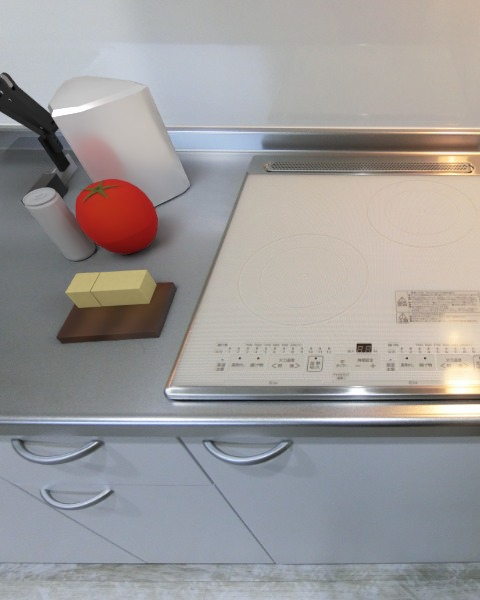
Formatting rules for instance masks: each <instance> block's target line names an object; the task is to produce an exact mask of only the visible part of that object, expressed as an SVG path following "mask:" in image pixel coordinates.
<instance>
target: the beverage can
mask: <svg viewBox="0 0 480 600" xmlns="http://www.w3.org/2000/svg"><path fill="white" fill-rule="evenodd" d="M26 194H27V193H26ZM26 194H24V196H23V197H24V198H23V197H22V198H23V200H22V201H23V203H24V205H25V206H24V205H23V206H24V207H25V208H26V210H27V211H28V212H29V214H30V215H31V216H32V217H33V218H34V220H35V221H36V223H38V225H39V226H40V227H41V229H42V230H43V231H44V232H45V233H46V235H47V236H48V238H50V240H51V241H52V242H53V244H54V245H55V246H56V247H57V249H58V250H59V251H60V252H61V254H62V255H63V256H64V257H65V258H66V259H67V260H69V261H74V262H78V261H83V260H86V259H88V258H90V257H91V256H93V254H94V252H95V251H96V245H95V244H96V243H95V242H94V241H93V240H91V239H90V238H89V237H88V236H87V235H86V234H85V233H84V231H83V230H82V229H81V227H80V225H79V223H78V221H77V219H76V215H74V213H73V212H72V210H71V209H70V208H69V206H68V205H67V204H66V202H65V200H64V199H63V198H61V196H60V195H59V194H58V193H57V192H56V191H55V190H54V189H52V188H40V189H36V190H34V191H31V192H30V193H28V194H27V195H26ZM23 203H22V204H23Z"/></svg>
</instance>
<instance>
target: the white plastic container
mask: <svg viewBox="0 0 480 600" xmlns="http://www.w3.org/2000/svg"><path fill="white" fill-rule="evenodd" d="M47 109H48V112H49V113H50V114H51V116H52V118H53V119H54V121H55V123H56V124H57V126H58V127H59V129H58V130H59V131H60V133H61V134H62V136H63V137H64V139H65V141H66V142H67V144H68V145H69V147H70V149H71V150H72V151H73V153H74V154H75V157H76V158H77V159H78V161H79V163H80V164H81V166H82V168H83V169H84V172H85V173H86V174H87V175H88V177H89V179H90V181H91V182H92V184H93V183H96V182H98V181H102V180H106V179H119V180H123V181H127V182H129V183H131V184H133V185H135V186H137V187H138V188H139V189H140V190H142V191H143V192H144V193H145V194H146V195H147V197H148V198H149V199H150V200H151V202H152V204H153V205H154V207H156V206H158V205H161V204H163V203H165V202H167V201H169V200H172V199H174V198H175V197H177V196H180V195H181V194H184V193H185V192H186V191H187V190H188V189H189V187H191V183H190V181H189V178H188V176H187V174H186V171H185V169H184V167H183V164H182V162H181V160H180V157H179V155H178V153H177V150H176V148H175V146H174V143H173V141H172V139H171V136H170V133H169V131H168V130H167V128H166V125H165V122H164V120H163V117H162V116H161V114H160V111H159V108H158V107H157V104H156V102H155V99H154V97H153V94H152V92H151V90H150V87H149V85H147V84H143V83H140V82H137V81H133V80H129V79H121V78H112V77H103V76H94V75H80V76H73V77H71V78H68V79H65V80H64V81H63V82H62V83H61V84H60V85H59V87H58V88H57V89H56V91H55V92H54V94H53V95H52V96H51V98H50V100H49V101H48V104H47Z"/></svg>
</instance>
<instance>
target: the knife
mask: <svg viewBox="0 0 480 600" xmlns="http://www.w3.org/2000/svg"><path fill="white" fill-rule="evenodd" d="M65 156H66V158H67V159H68V161H69V162H70V165H69V166H68V168H67V169H66V170H65V171H64V172H60V171H59V170H58V168H57V167H56V166H55V168H54V169H53V170H52V171H51V172H49V173H42V174H41V175H40V177H39V178H38V179H37V180H36V182H34V184H33V185H32V186H31V188H29V190H28V191H27V192H26V194H25V195H27V194H28V193H30V192H31V191H34V190H36V189H40V188H52V189H54V190H55V191H56V192H57V193H58V194H59V195H60V196H61V198H62V199H63V197H65V195H66V194H67V192H68V191H69V189H68V188H67V186H66V184H67V182H68V181H69V180H71V178H72V177H73V175H74V173H75V172H76V171H77V169H78V166H77V165H76V163H75V161H74V159H73V158H72V156H71V154H70V153H66V154H65ZM23 198H24V196H23V197H22V198H21V199H20V202H21V204H22V205H23V206H24V207H25V205H24V203H23V201H22V200H23Z"/></svg>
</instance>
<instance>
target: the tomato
mask: <svg viewBox="0 0 480 600" xmlns="http://www.w3.org/2000/svg"><path fill="white" fill-rule="evenodd" d="M78 190H79V191H80V193H79V194H78V195H77V197H76V199H75V205H74V210H75V217H76V219H77V221H78V223H79V225H80V227H81V229H82V230H83V231H84V233H85V234H86V235H87V236H88V237H89V238H90V239H91V240H92V241H93V243H94V244H96V245H98V246H99V247H101V248H103V249H104V250H106V251H108V252H111V253H114V254H118V255H130V254H131V255H132V254H133V253H137V252H140V251H142V250H144V249H146V248H148V247H149V246H150V245H152V243H153V242H154V239H155V238H156V236H157V232H158V229H159V217H158V213H157V209H156V206H154V205H153V204H152V202H151V200H150V199H149V198H148V197H147V195H146V194H145V193H144V192H143V191H142V190H140V189H139V188H138V187H137V186H135V185H133V184H131V183H129V182H127V181H123V180H119V179H106V180H102V181H98V182H96V183H93V182H92V183H91V184H89V185H88V186H86V187H84V188H81V189H80V188H79V189H78Z"/></svg>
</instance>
